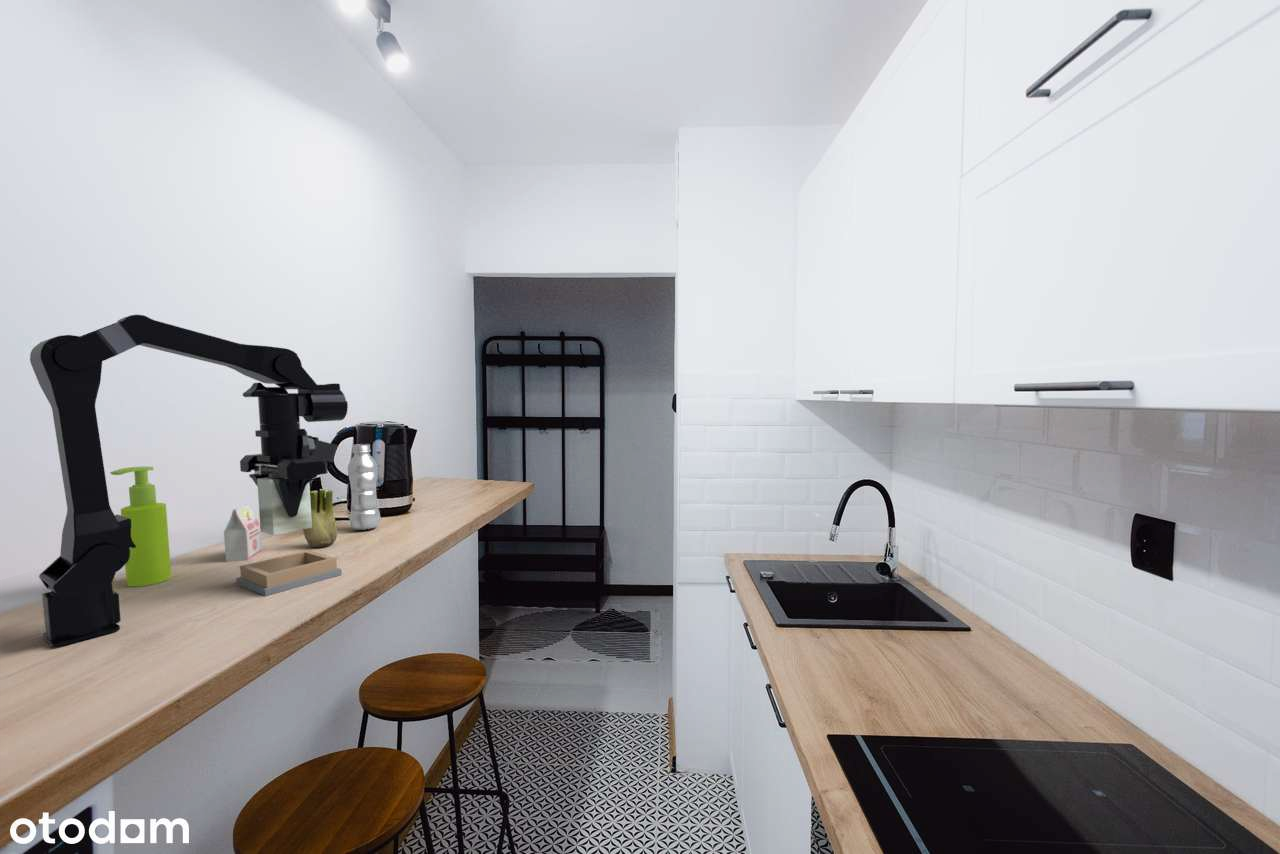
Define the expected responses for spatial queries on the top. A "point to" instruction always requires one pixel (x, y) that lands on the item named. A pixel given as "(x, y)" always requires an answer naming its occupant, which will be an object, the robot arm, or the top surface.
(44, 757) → the top surface
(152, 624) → the top surface
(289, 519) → the cabinet block
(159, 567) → the soap dispenser
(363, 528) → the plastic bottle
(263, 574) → the rectangular tray
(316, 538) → the fennel bulb
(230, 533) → the milk carton
